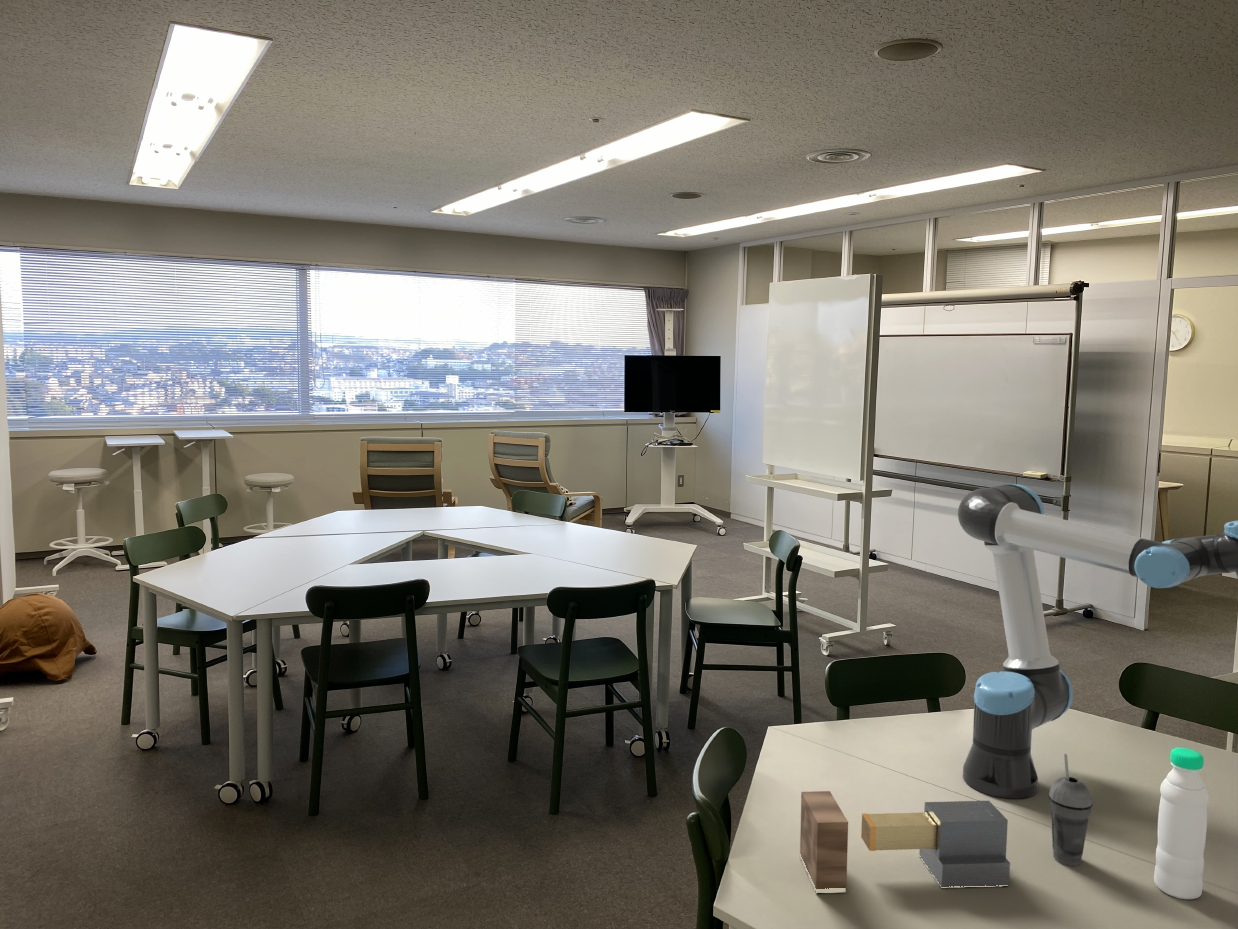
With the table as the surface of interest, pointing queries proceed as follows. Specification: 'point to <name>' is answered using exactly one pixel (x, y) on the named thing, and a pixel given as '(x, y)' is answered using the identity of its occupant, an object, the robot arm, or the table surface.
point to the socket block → (824, 839)
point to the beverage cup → (1069, 817)
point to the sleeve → (968, 844)
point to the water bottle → (1182, 827)
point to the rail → (899, 831)
